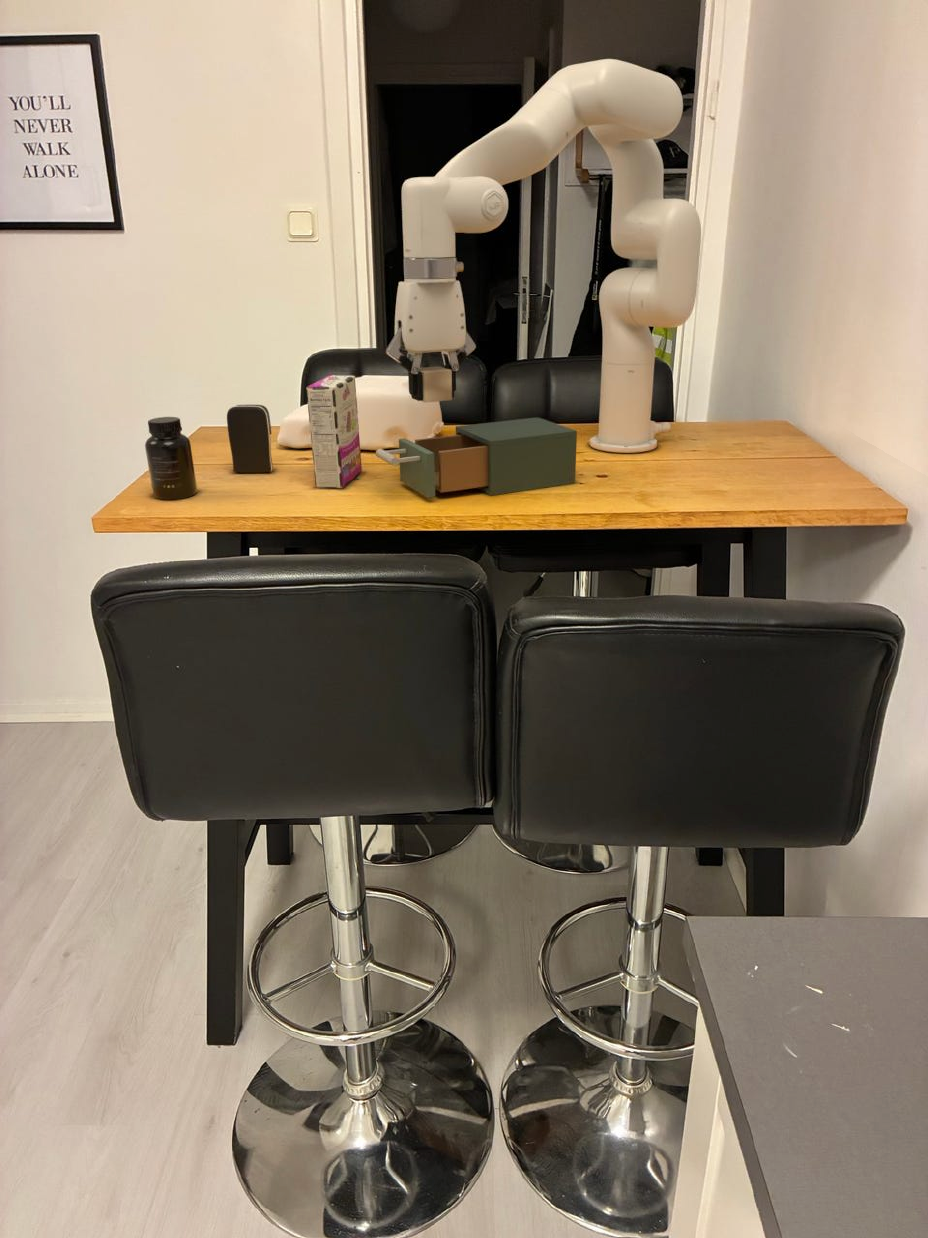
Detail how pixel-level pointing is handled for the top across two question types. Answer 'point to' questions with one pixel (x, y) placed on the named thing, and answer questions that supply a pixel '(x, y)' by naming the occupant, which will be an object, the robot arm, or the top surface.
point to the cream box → (436, 384)
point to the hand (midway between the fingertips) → (432, 396)
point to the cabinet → (525, 454)
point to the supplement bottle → (170, 460)
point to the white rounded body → (374, 416)
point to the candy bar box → (334, 431)
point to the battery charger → (250, 438)
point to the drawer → (440, 463)
